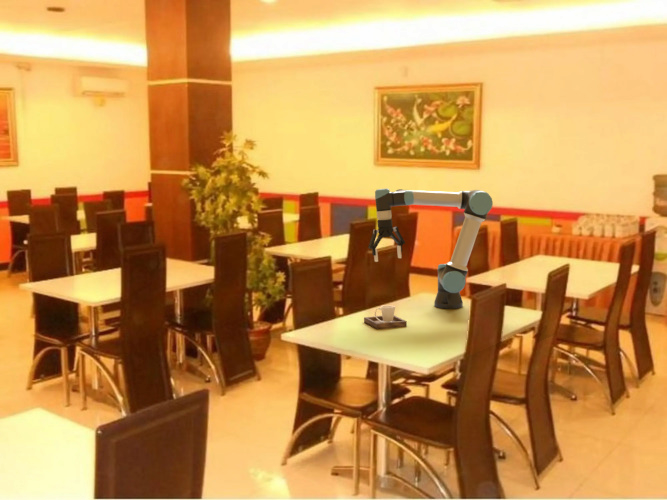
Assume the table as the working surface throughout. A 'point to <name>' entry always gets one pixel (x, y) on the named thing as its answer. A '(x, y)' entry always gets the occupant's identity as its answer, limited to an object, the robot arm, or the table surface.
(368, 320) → the tray
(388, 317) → the cup
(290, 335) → the table surface
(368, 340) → the table surface
